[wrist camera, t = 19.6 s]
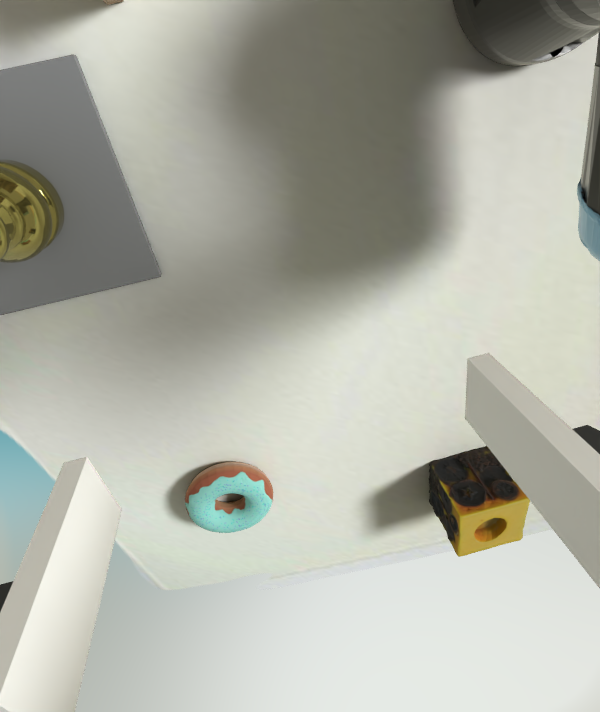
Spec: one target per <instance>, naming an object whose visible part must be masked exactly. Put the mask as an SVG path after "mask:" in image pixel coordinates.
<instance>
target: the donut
mask: <svg viewBox="0 0 600 712" xmlns="http://www.w3.org/2000/svg"><path fill="white" fill-rule="evenodd" d="M229 493H235V494H240V495H243V496H244V497H243V498H242V499H240V500H238V501H235V502H228V503H227V502H220V501H218V500H216V498H218V497H219V496H221V495H224V494H229ZM272 500H273V489H272V485H271V483H270V481H269V479H268V478H267V476H266V475H265V474H264V473H263V472H262V471H261V470H260V469H258V468H257V467H254V466H252V465H250V464H246V463H241V462H225V463H220V464H216V465H214V466H211V467H209V468H207V469H205V470H203V471H202V472H200V473H199V474H198V475H197V476H196V477H195V478H194V479H193V480H192V482H191V484H190V485H189V487H188V489H187V492H186V496H185V505H186V510H187V512H188V515H189V516H190V517H191V519H192V520H193V521H194V522H195V523H196V524H197V525H198V526H200V527H202V528H204V529H206V530H209V531H212V532H219V533H230V532H236V531H241V530H244V529H247V528H249V527H252V526H253V525H255V524H256V523H258V522H259V521H261V519H262V518H263V517H264V516H265V515H266V514H267V512H268V511H269V509H270V507H271V504H272Z"/></svg>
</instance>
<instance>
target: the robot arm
mask: <svg viewBox="0 0 600 712" xmlns="http://www.w3.org/2000/svg"><path fill="white" fill-rule="evenodd" d="M453 2H454V6H455V10H456V13H457V17H458V19H459V22H460V25H461V27H462V29H463V31H464V33H465V34H466V36H467V38H468V39H469V40H470V42H471V43H472V44H473V46H474V47H475V48H476V49H477V50H478V51H479V52H480V53H482V54H483V55H484V56H486V57H487V58H489V59H491V60H493V61H495V62H498V63H501V64H504V65H511V66H520V65H529V64H536V63H542V62H546V61H549V60H552V59H555V58H558V57H560V56H562V55H564V54H566V53H568V52H570V51H571V50H573V49H575V48H576V47H578V46H579V45H581V44H582V43H584V42H585V41H587V40H588V39H590V38H591V37H593V36H594V35H596V34H597V33H599V38H598V47H597V56H596V63H595V69H594V78H593V87H592V96H591V104H590V112H589V120H588V128H587V136H586V144H585V152H584V159H583V167H582V175H581V179H580V182H579V184H578V188H577V195H578V200H579V202H580V206H579V223H578V231H579V236H580V239H581V242H582V243H583V244H584V246H585V247H586V248H587V249H588V250H589V252H590V254H591V255H592V256H593V257H595V258H596V259H597V260H599V261H600V0H453ZM465 419H466V420H467V421H468V423H469V424H470V425H471V426H472V428H473V429H474V430H475V431H476V433H477V434H478V435H479V437H480V438H481V439H482V440H483V442H484V443H485V444H486V445H487V447H488V448H489V449H490V450H491V452H492V453H493V454H494V455H495V457H496V458H497V459H498V461H499V462H500V463H501V464H502V466H503V467H504V468H505V469H506V471H507V472H508V473H509V474H510V476H511V477H512V478H513V479H514V481H515V482H516V483H517V485H518V486H519V487H520V488H521V490H522V491H523V492H524V493H525V495H526V496H527V497H528V498H529V500H530V501H531V502H532V504H533V505H534V506H535V507H536V509H537V510H538V511H539V512H540V514H541V515H542V516H543V517H544V519H545V520H546V521H547V522H548V524H549V525H550V526H551V528H552V529H553V530H554V531H555V533H556V534H557V535H558V536H559V538H560V539H561V540H562V541H563V543H564V544H565V545H566V546H567V548H568V549H569V550H570V551H571V553H572V554H573V555H574V557H575V558H576V559H577V560H578V562H579V563H580V564H581V565H582V567H583V568H584V569H585V570H586V572H587V573H588V574H589V576H590V577H591V578H592V579H593V581H594V582H595V583H596V584H597V586H598V587H599V588H600V431H599V430H597V429H595V428H593V427H591V426H589V425H586V426H582V427H578V428H574V429H571V428H570V427H569V426H568V425H567V424H566V423H565V422H564V421H563V420H562V419H560V418H559V417H558V416H557V415H556V414H555V413H554V412H553V411H552V410H551V409H549V408H548V407H547V406H546V405H545V404H544V403H543V402H542V401H541V400H540V399H539V398H537V397H536V396H535V395H534V394H533V393H532V392H531V391H530V390H529V389H528V388H527V387H525V386H524V385H523V384H522V383H521V382H520V381H519V380H518V379H517V378H516V377H514V376H513V375H512V374H511V373H510V372H509V371H508V370H507V369H506V368H505V367H504V366H502V365H501V364H500V363H499V362H498V361H497V360H496V359H495V358H494V357H493V356H491V355H490V354H489V353H487V354H483V355H479V356H475V357H471V358H468V359H467V384H466V408H465ZM121 511H122V509H121V507H120V506H119V504H118V503H117V501H116V500H115V498H114V497H113V495H112V494H111V492H110V491H109V489H108V488H107V486H106V485H105V483H104V482H103V480H102V479H101V477H100V476H99V474H98V473H97V471H96V470H95V468H94V467H93V465H92V464H91V462H90V461H89V459H88V458H87V457H85V458H81V459H77V460H73V461H69V462H65V463H64V464H63V466H62V468H61V471H60V473H59V475H58V478H57V480H56V482H55V485H54V487H53V490H52V492H51V494H50V497H49V499H48V501H47V504H46V506H45V509H44V511H43V513H42V515H41V518H40V520H39V523H38V525H37V527H36V530H35V532H34V534H33V537H32V539H31V541H30V544H29V546H28V548H27V551H26V553H25V555H24V558H23V560H22V562H21V565H20V567H19V570H18V572H17V574H16V577H15V579H14V581H12V582H9V583H5V584H1V585H0V712H75V708H76V704H77V700H78V695H79V691H80V687H81V683H82V678H83V674H84V670H85V665H86V661H87V657H88V653H89V648H90V644H91V640H92V635H93V631H94V626H95V622H96V618H97V614H98V609H99V605H100V601H101V597H102V592H103V588H104V584H105V579H106V575H107V571H108V567H109V563H110V558H111V554H112V550H113V545H114V541H115V537H116V533H117V528H118V524H119V520H120V515H121Z"/></svg>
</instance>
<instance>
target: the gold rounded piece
mask: <svg viewBox="0 0 600 712" xmlns="http://www.w3.org/2000/svg"><path fill="white" fill-rule="evenodd" d="M63 224H64V208H63V204H62V201H61V199H60V196H59V194H58V193H57V191H56V189H55V188H54V187H53V185H52V184H51V183H50V182H49V181H48V180H47V179H46V178H45V177H44V176H43V175H42V174H41V173H39V172H38V171H37V170H35V169H33V168H32V167H30V166H28V165H26V164H23V163H20V162H17V161H13V160H4V159H1V160H0V262H3V263H18V262H23V261H27V260H29V259H31V258H33V257H35V256H37V255H38V254H39V253H40V252H41V251H42V250H43V249H45V248H46V247H48V246H49V245H50V244H51V243H52V241H53V240H54V239H55V238H56V237H57V236H58V235H59V233H60V232H61V230H62V227H63Z"/></svg>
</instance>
